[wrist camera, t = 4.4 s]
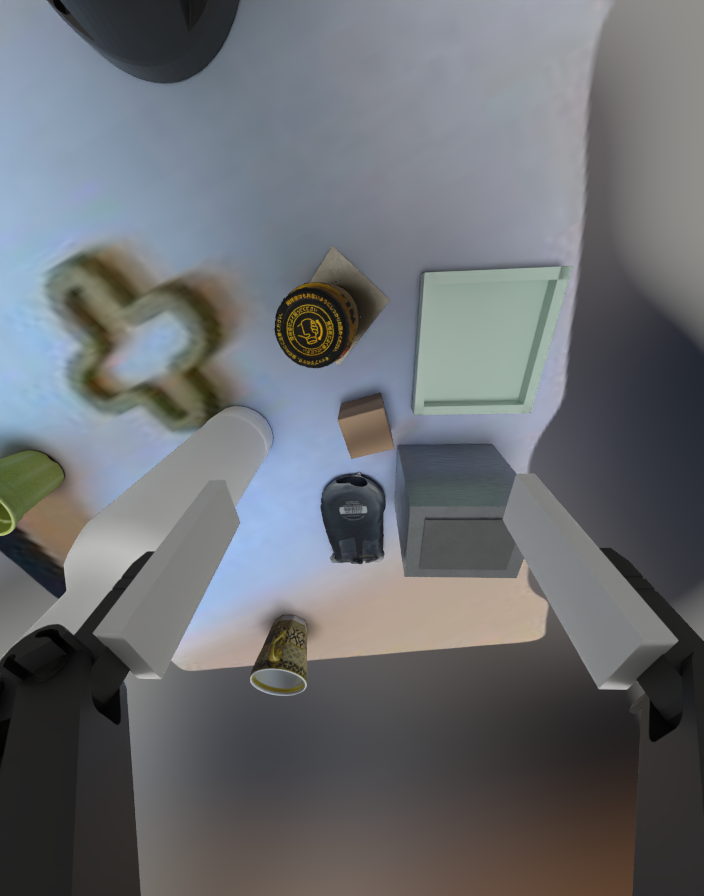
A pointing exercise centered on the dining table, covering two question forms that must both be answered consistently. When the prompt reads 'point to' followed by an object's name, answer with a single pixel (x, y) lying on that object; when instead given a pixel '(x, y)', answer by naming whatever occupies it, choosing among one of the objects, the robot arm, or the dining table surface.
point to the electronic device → (354, 521)
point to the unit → (454, 511)
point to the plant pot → (25, 485)
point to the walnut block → (365, 426)
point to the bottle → (157, 509)
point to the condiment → (327, 313)
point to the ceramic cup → (283, 658)
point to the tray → (484, 338)
